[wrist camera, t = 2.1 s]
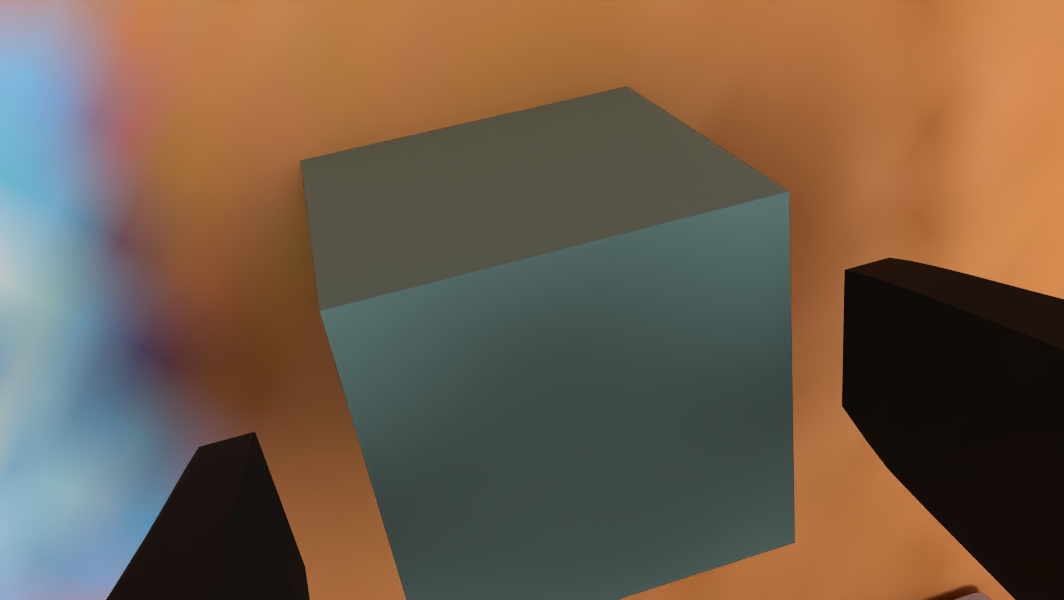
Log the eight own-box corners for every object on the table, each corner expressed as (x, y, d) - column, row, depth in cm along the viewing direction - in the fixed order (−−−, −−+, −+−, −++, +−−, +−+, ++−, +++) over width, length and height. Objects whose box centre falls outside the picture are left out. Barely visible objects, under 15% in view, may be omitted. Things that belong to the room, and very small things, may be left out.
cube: (653, 358, 16) (794, 542, 12) (379, 434, 16) (425, 661, 11) (625, 85, 14) (789, 191, 10) (300, 158, 13) (320, 311, 9)
